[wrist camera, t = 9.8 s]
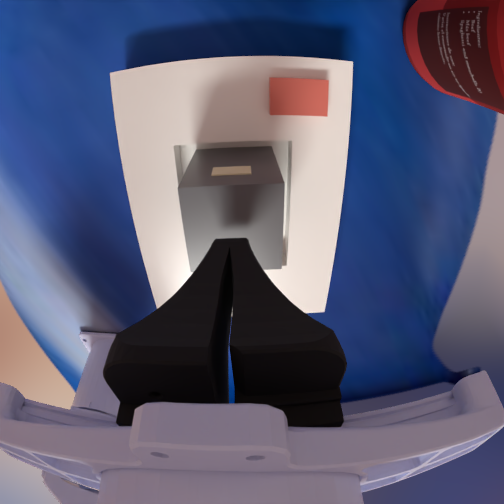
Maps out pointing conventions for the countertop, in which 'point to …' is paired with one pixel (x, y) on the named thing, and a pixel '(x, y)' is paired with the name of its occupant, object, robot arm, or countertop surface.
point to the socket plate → (237, 135)
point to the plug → (233, 202)
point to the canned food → (459, 48)
